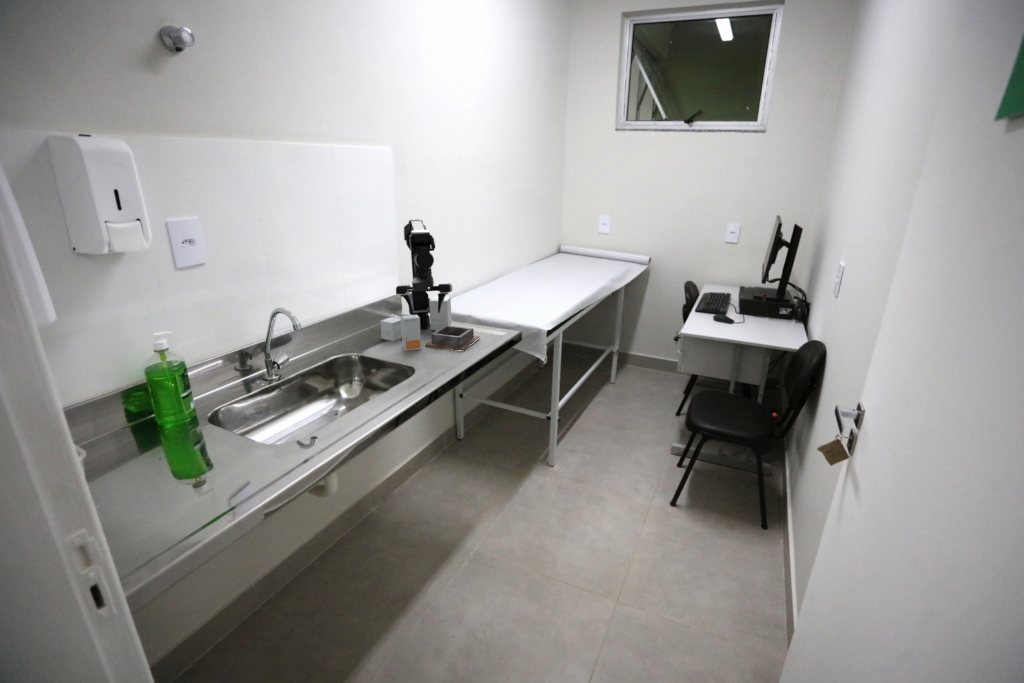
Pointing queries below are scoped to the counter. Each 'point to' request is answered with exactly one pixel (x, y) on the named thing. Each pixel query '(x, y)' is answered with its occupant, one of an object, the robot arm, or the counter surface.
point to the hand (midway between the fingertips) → (426, 313)
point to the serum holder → (452, 338)
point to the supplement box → (445, 313)
